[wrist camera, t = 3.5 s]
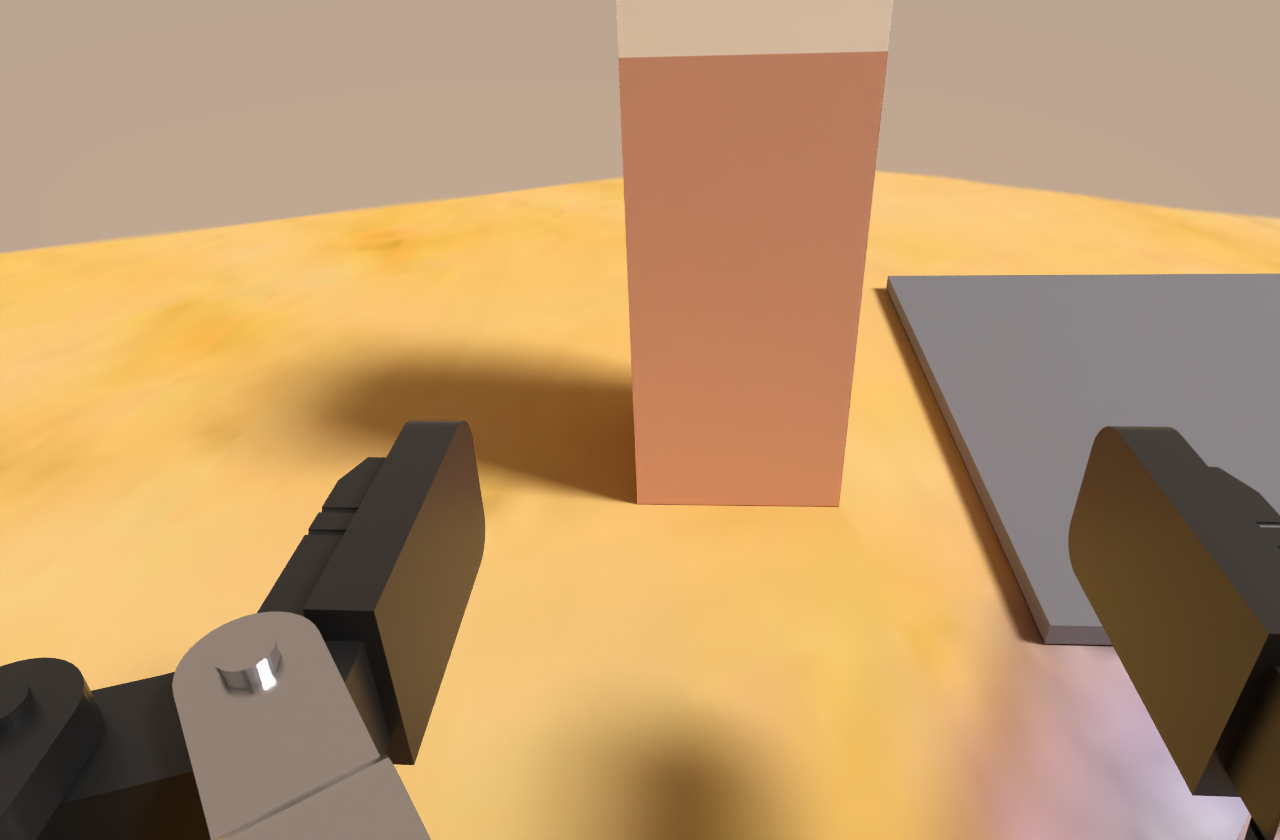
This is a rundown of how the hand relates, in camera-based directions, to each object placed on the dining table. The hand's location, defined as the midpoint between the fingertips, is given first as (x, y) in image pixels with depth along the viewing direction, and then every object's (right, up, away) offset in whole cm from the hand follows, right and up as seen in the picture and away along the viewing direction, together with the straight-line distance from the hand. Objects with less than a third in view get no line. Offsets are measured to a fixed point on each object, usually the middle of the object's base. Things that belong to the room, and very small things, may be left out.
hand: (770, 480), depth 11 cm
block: (+1, 0, +12) cm, 12 cm away
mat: (+14, +1, +13) cm, 19 cm away
